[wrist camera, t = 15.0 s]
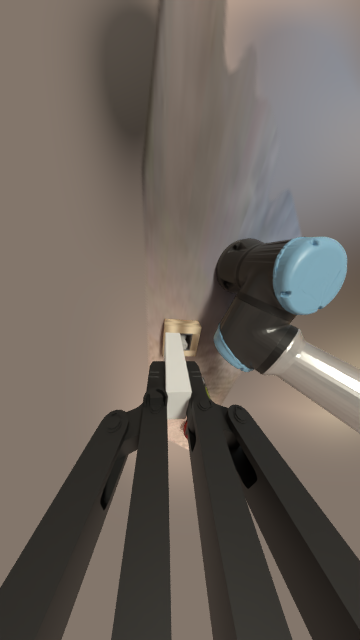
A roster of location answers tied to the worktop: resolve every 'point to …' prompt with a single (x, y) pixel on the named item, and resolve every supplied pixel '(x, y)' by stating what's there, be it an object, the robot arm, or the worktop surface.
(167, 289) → the worktop surface
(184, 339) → the rook chess piece
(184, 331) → the socket block
